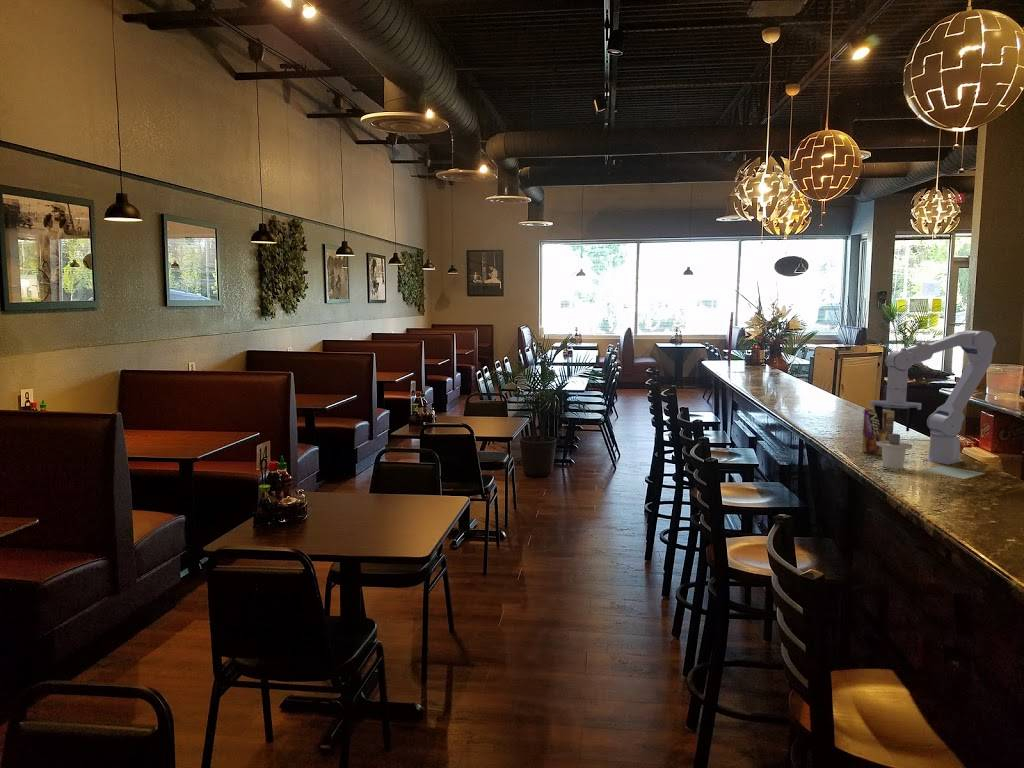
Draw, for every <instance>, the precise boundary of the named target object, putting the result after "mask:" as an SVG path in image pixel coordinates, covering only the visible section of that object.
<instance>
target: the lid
mask: <svg viewBox="0 0 1024 768" xmlns="http://www.w3.org/2000/svg"><path fill="white" fill-rule="evenodd" d="M876 445H877V446H880V447H885V448H893V449H906V450H908V449H909V450H910V449H912V448H913V444H911V443H908V442H903V441H901V434H899V433H893V434H889V441H878V442H876Z"/></svg>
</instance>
